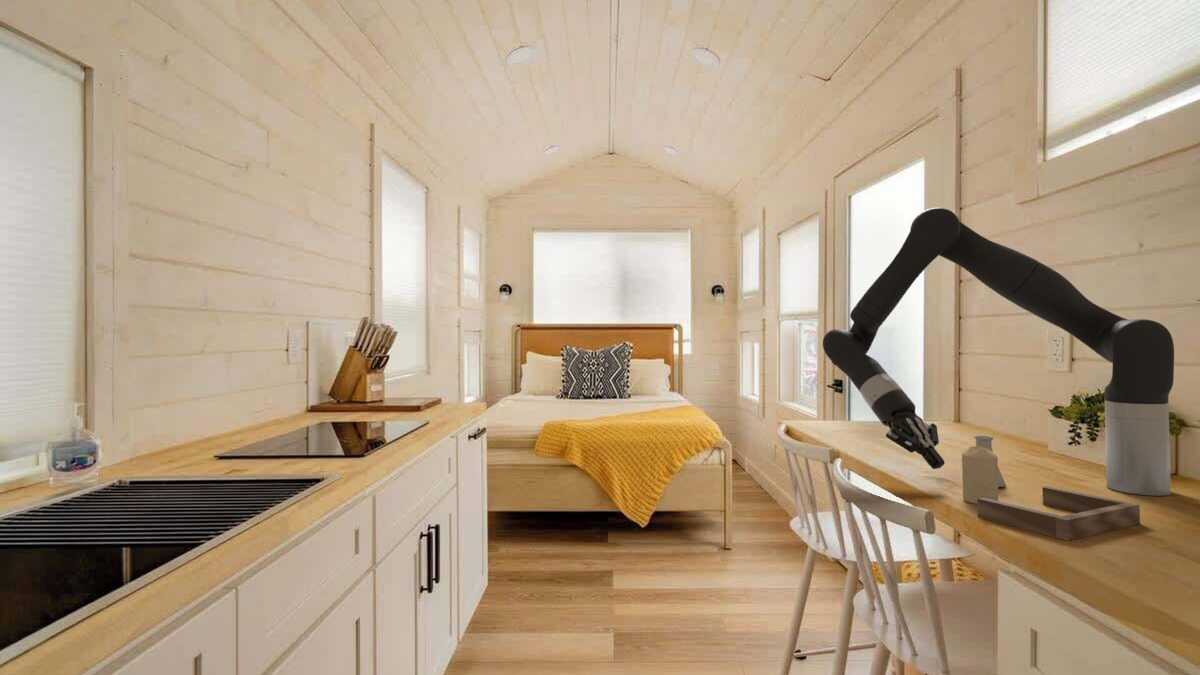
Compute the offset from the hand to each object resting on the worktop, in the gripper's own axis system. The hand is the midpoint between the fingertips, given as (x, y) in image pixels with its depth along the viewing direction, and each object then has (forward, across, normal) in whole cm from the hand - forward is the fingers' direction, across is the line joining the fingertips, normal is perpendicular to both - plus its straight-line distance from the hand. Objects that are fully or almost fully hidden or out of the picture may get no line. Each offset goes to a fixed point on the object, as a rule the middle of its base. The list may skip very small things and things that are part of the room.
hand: (939, 466), depth 116 cm
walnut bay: (+18, 0, -11) cm, 21 cm away
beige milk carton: (+9, 0, -2) cm, 10 cm away
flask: (+4, +13, +4) cm, 14 cm away
